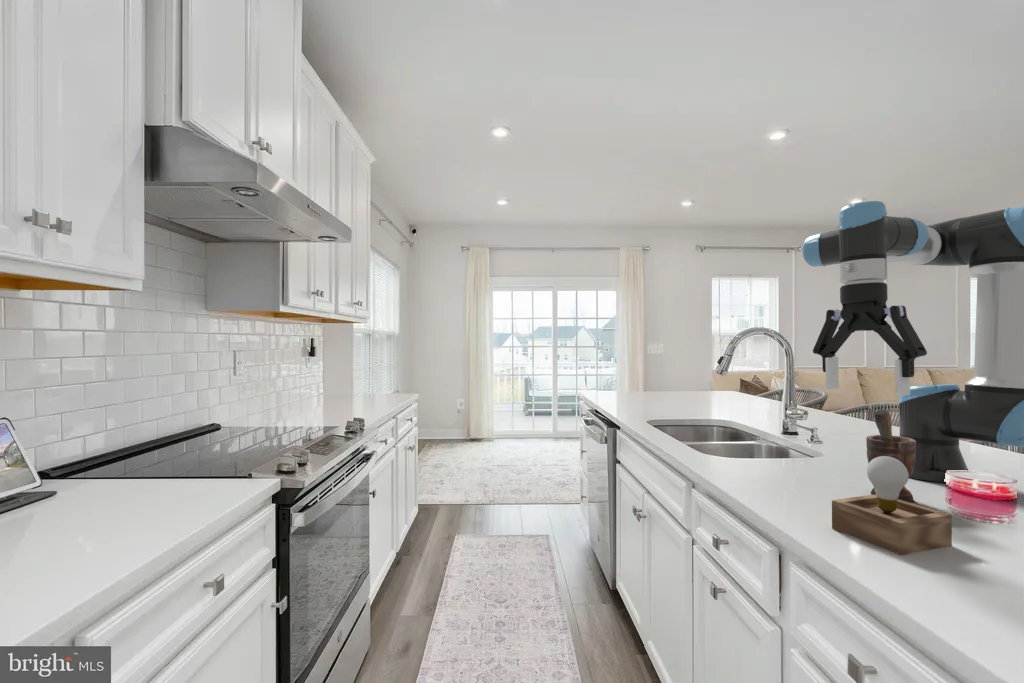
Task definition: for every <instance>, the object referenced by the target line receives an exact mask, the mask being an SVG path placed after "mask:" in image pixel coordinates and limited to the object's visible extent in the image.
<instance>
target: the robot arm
mask: <svg viewBox="0 0 1024 683" xmlns="http://www.w3.org/2000/svg"><path fill="white" fill-rule="evenodd" d="M838 214H839V215H838V226H837V229H836V230H831V231H825V232H819V233H817V234H814V235H810V236H808V237H807V238H806V239H805V240H804V242H803V245H802V257H803V259H804V261H805V262H806V263H807V265H809V266H811V267H827V266H831V265H839V282H840V283H841V284H843V285H841V287H839V295H840V296H839V299H840V300H839V302H840V304H841V306H842V308H841V310H839V309H827V310H826V316H825V322H824V324H823V326H822V329H821V331H820V333H819V335H818V338H817V339H816V342H815V345H814V347H813V348H812V349H813V350H812V353H813V354H814V355H819V356H821V358H822V361H821V362H822V371H823V373H825V389H826V390H832V389H839V388H840V385H839V382H840V381H839V378H840V376H839V357H838V356H837V355H836V353H837V352H838V351H839V350H840V348H842V346H843V345H844V344H845V342H846V341H847V339H849V337H850V336H851V335H852V334H853V333H855V332H859V331H860V332H862V331H865V332H867V331H868V332H870V331H873V332H875V334H878V335H879V337H880V338H881V339H882V340H883V341H884V342H885V343H886V344H887V346H888V347H890V349H891V350H892V351H893V352H894V353H895V355H897V356H898V358H897V359H894V375H895V376H894V380H895V381H894V383H895V386H894V387H895V396H898V398H899V401H898V413H899V415H898V416H899V419H898V420H899V421H898V422H899V424H898V425H899V426H898V427H899V436H901V437H907V438H912V439H914V440H915V441H916V461H915V467H914V471H913V473H912V475H911V477H910V478H911V479H915V480H916V479H917V480H921V481H922V480H923V481H929V482H936V483H945V482H944V479H945V473H946V471H947V470H969V468H968V466H967V464H966V461H965V459H964V457H963V454H962V452H961V449H960V440H967V441H974V442H981V443H987V444H995V445H998V446H1000V447H1016V448H1024V206H1018V207H1007V208H1005V209H1000V210H995V211H990V212H985V213H981V214H974V215H971V216H966V217H965V216H964V217H957V218H955V219H950V220H946V221H942V222H938V223H934V224H930V225H929V224H928V225H926V224H925V223H924V222H922V221H920V220H918V219H913V218H911V217H907V216H905V217H901V216H900V217H898V216H888V212H887V208H886V204H885V202H883V201H880V200H868V201H860V202H855V203H852V204H848V205H845V206H844V207H842V208H841V209H840V210H839V213H838ZM890 262H891V263H898V262H900V263H901V262H904V263H906V264H908V265H911V266H912V265H913V266H937V267H938V266H939V267H940V266H941V267H943V266H945V267H947V266H948V267H955V266H956V267H957V266H959V267H960V266H968V271H969V272H971V273H972V274H974V275H975V276H976V278H977V280H976V305H975V307H976V308H975V309H976V310H975V334H974V335H975V336H974V367H973V377H972V378H971V379H969V380H968V381H966V382H965V383H964V390H961V388H960V386H959V384H956V383H955V384H952V383H950V384H932V385H930V384H929V385H911V378H914V376H915V360H916V359H917V358H919V357H925V356H926V355H927V354H928V351H927V349H926V348H925V346H924V344H923V343H922V341H921V339H920V337H919V335H918V333H917V331H916V330H915V328H914V327H913V325H912V324H911V322H910V320H909V318H908V315H907V308H906V306H905V305H891V306H890V307H888V305H887V302H888V284H887V283H886V282H884V281H886V280H887V279H888V263H890ZM887 317H889V318H890V319H891V321H892V324H893V325H894V327H895V329H896V330H897V332H898V334H899V335H898V334H897V333H896V332H895V331H894V330H893V329H892V325H890V323H889V322H887V320H886V318H887ZM841 320H843V322H842V323H841V324H840V321H841ZM839 324H840V325H839ZM838 326H839V327H838ZM836 330H837V331H836Z"/></svg>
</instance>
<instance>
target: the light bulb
mask: <svg viewBox="0 0 1024 683" xmlns="http://www.w3.org/2000/svg"><path fill="white" fill-rule="evenodd" d="M866 475H867V478H868V480H869V481H870V483H871V484H872V486H873V488H874V489H875V493H876V495H877V499H878V500H877V501H878V508H880V509H881V510H882V511H883V512H884V513H892V512H893V511H896V504H897V503H896V502H897V498H898V496H899V493H900V491H901V489H902V488H903V487H904V486H905V487H906V485H907V483H908V481H909V478H908V477H909V475H908V471H907V469H906V467H905V466H904V464H903V463H902V462H900V461H899V460H897V459H895V458H893V457H889V456H880V457H876V458H874V459H873V460H871V461H870V462H869V463H867V466H866Z"/></svg>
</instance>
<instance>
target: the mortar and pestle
mask: <svg viewBox="0 0 1024 683" xmlns="http://www.w3.org/2000/svg"><path fill="white" fill-rule="evenodd" d="M873 418H874V423H875V425H876V427H877V429H878V432H879V434H873V435H867V436H866V437H865V439H866V441H865V443H866V445H865V446H866V457H867V464H869V462H870V461H871V460H873V459H874V458H876V457H880V456H889V457H893V458H895V459H897V460H899V461H900V462H902V463H903V464H904V466H905V467H906V469H907V471H908V475H909V477H908V479H910V478H911V475H912V473H913V471H914V467H915V461H916V441H915V440H914V439H912V438H907V437H901V436H900V435H893V430H892V429H893V428H892V427H893V426H892V425H893V424H892V417H891V414H890V412H889V411H888V410H886V409H877V410H876V411H874V413H873ZM873 494H876V493H875V489H874V487H873V488H872V489H871V491H870V495H873ZM897 499H899V500H902V501H906V502H909V503H912V502H913V501H914V496H913V493H912V492H911V491H910V490H909V489H907V487H906V485H905V486H904V487H903V488H902V489H901V491H900V493H899V496H898V498H897Z"/></svg>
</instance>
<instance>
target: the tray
mask: <svg viewBox="0 0 1024 683" xmlns="http://www.w3.org/2000/svg"><path fill="white" fill-rule="evenodd" d="M877 500H878V499H877V495H876V494H873V495H871V494H867V495H861V496H860V495H859V496H852V497H846V498H839V499H832V500H831V529H833V530H835V531H838V532H839V533H843V534H844V535H845V534H846V535H848V536H850V537H853V538H856V539H858V540H860V541H863V542H866V543H868V544H871V545H873V546H875V547H877V548H878V547H879V548H880V549H883V550H886V551H888V552H891V553H893V554H896V555H899V556H905V555H910V554H917V553H921V552H927V551H931V550H936V548H937V549H941V548H942V547H943V548H947V547H951V546H953V532H952V531H953V523H952V520H953V517H952V516H953V515H952V514H950V513H946V512H943V511H940V510H937V509H932V508H930V507H926V506H923V505H919V504H916V503H913V502H906V501H902V500H899V499H897V502H896V503H897V504H896V511H893V512H892V513H884V512H883V511H882V510H881V509H880V508H878V501H877Z"/></svg>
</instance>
